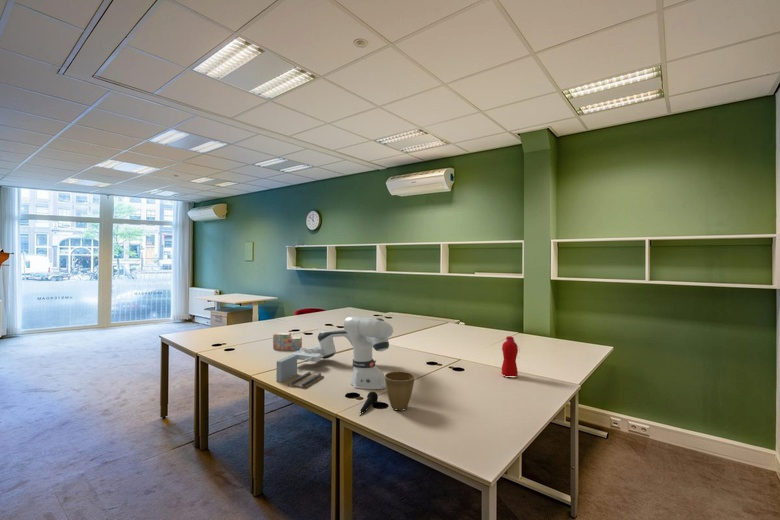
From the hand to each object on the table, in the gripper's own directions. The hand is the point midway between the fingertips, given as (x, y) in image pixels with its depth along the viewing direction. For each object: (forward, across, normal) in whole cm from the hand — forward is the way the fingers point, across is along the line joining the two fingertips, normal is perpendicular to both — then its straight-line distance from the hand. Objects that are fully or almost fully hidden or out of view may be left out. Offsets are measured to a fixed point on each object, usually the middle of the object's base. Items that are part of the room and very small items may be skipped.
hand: (299, 359), depth 237 cm
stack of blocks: (-42, +39, -7) cm, 57 cm away
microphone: (+36, -63, -8) cm, 73 cm away
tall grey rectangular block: (+14, 0, -7) cm, 16 cm away
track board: (+16, -15, -7) cm, 23 cm away
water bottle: (-39, -129, -7) cm, 135 cm away
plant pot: (+31, -78, -7) cm, 84 cm away
